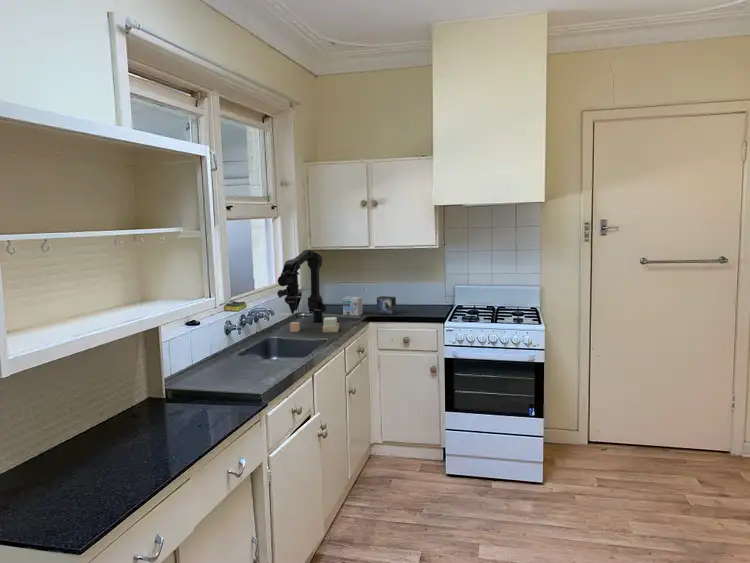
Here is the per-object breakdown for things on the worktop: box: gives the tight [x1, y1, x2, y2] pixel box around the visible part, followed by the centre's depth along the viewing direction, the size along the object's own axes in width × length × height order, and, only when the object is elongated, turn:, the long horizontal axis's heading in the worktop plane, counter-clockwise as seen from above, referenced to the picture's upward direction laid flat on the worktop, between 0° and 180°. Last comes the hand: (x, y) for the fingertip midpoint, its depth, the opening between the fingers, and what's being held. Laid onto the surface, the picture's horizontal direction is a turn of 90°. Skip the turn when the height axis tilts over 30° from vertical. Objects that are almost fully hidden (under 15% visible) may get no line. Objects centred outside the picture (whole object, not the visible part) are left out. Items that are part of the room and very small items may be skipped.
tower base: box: [322, 322, 340, 333], centre depth 306 cm, size 8×8×4 cm
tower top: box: [322, 316, 338, 326], centre depth 306 cm, size 6×6×4 cm
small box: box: [376, 295, 397, 316], centre depth 349 cm, size 11×6×10 cm, turn 62°
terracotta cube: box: [289, 321, 301, 333], centre depth 308 cm, size 4×4×4 cm
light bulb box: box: [342, 296, 364, 316], centre depth 350 cm, size 11×7×11 cm, turn 68°
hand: (294, 312), depth 307 cm, fingers open, 9 cm apart
